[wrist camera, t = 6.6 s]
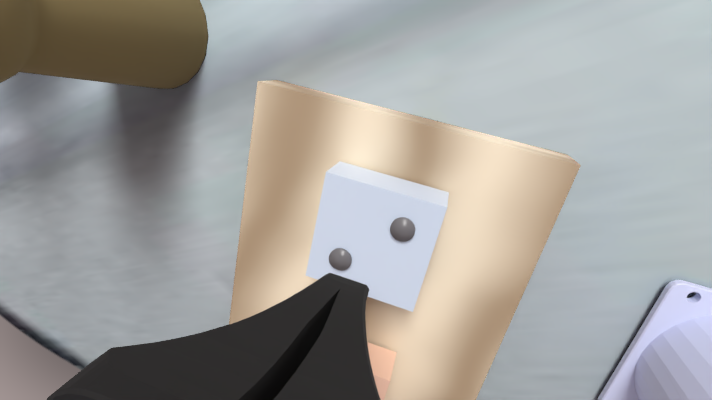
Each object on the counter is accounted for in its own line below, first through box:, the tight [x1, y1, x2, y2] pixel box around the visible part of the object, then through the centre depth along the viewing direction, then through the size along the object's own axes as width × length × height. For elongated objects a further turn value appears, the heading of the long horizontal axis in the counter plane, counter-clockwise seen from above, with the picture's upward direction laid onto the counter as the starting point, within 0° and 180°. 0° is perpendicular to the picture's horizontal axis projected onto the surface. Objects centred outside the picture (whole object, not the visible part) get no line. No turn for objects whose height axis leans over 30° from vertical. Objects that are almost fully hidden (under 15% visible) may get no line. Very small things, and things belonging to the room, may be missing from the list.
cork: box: [0, 0, 208, 89], centre depth 15 cm, size 6×6×11 cm
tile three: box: [367, 342, 397, 400], centre depth 20 cm, size 5×5×2 cm
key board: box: [229, 80, 581, 400], centre depth 22 cm, size 14×28×2 cm, turn 167°
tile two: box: [306, 161, 449, 312], centre depth 17 cm, size 5×5×2 cm
